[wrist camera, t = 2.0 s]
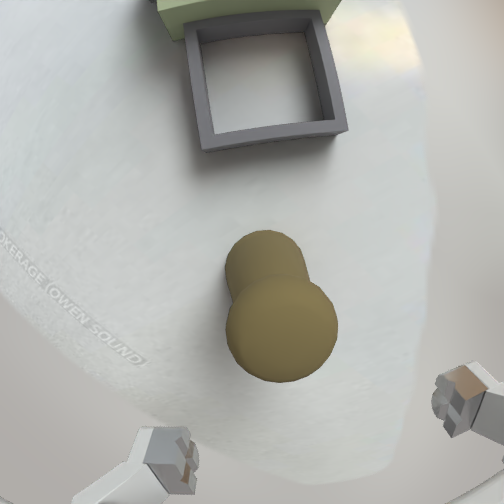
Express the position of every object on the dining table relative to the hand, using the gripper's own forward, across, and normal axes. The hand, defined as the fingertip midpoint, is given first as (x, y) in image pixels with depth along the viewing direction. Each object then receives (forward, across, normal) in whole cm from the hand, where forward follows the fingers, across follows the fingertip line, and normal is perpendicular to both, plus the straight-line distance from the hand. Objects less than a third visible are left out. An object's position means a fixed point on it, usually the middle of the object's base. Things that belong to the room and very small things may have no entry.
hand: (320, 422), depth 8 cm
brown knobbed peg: (+15, +1, 0) cm, 15 cm away
